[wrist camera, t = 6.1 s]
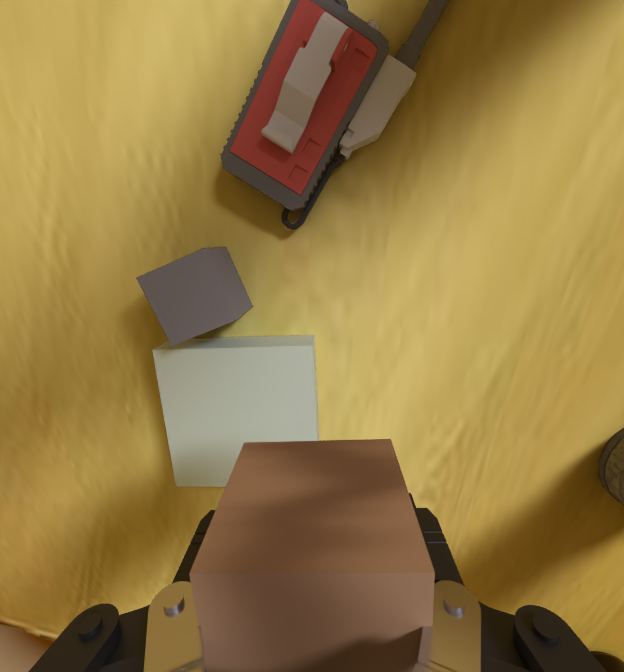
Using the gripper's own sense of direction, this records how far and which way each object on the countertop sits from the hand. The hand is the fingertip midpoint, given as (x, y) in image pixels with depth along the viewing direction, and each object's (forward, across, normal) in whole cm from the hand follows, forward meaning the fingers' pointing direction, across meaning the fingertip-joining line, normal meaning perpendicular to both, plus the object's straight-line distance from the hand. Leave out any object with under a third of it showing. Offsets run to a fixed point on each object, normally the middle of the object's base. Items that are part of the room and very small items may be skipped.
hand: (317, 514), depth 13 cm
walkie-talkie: (+17, -2, -21) cm, 27 cm away
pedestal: (+17, +6, +3) cm, 18 cm away
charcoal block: (+17, +8, -7) cm, 20 cm away
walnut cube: (+1, 0, 0) cm, 1 cm away
